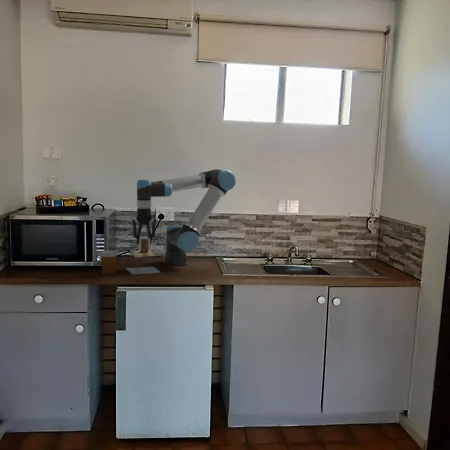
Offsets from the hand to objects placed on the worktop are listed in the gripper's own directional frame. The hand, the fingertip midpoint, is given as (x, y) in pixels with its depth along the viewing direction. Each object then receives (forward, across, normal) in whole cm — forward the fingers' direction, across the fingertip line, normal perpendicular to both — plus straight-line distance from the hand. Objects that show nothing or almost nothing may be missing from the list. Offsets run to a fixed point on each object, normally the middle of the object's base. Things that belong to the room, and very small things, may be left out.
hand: (144, 249), depth 260 cm
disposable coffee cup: (+12, -20, +1) cm, 23 cm away
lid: (+3, 0, 0) cm, 3 cm away
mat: (+12, -1, 0) cm, 12 cm away
